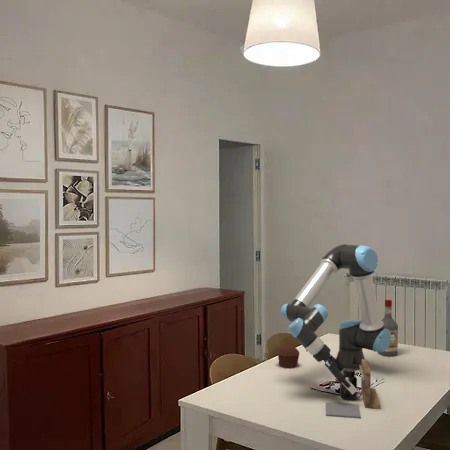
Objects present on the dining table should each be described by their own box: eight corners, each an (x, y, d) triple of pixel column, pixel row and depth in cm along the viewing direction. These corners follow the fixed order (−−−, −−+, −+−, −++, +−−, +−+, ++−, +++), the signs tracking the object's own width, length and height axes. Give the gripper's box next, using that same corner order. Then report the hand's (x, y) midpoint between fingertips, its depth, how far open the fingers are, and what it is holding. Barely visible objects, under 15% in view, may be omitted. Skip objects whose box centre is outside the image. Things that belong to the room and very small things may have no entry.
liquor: (375, 352, 297) (376, 299, 296) (389, 351, 299) (390, 298, 298) (385, 357, 288) (386, 302, 287) (399, 356, 291) (400, 301, 290)
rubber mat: (326, 415, 206) (326, 414, 206) (325, 403, 219) (325, 402, 219) (360, 418, 204) (360, 416, 204) (358, 405, 216) (358, 404, 216)
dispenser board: (362, 407, 215) (362, 372, 214) (358, 390, 235) (359, 359, 234) (380, 408, 214) (380, 374, 213) (375, 391, 233) (375, 360, 233)
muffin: (285, 361, 279) (285, 342, 279) (303, 365, 272) (304, 345, 272) (272, 366, 270) (272, 346, 270) (291, 370, 263) (291, 350, 263)
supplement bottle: (347, 401, 221) (347, 373, 221) (336, 396, 227) (337, 368, 227) (360, 399, 224) (360, 370, 224) (349, 394, 230) (349, 366, 230)
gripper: (312, 347, 240) (346, 383, 238) (311, 363, 215) (349, 403, 213) (324, 336, 239) (358, 372, 237) (324, 351, 214) (362, 390, 212)
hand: (354, 386), depth 225 cm, fingers open, 13 cm apart
